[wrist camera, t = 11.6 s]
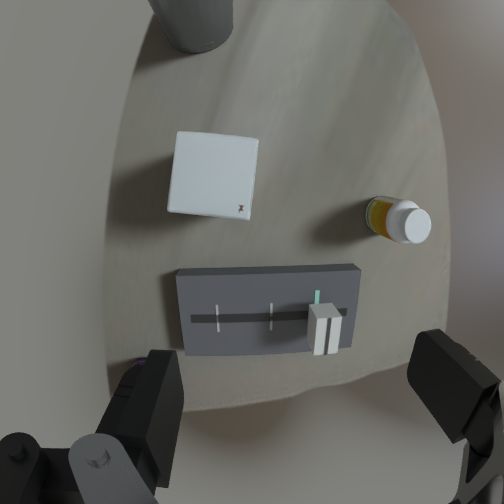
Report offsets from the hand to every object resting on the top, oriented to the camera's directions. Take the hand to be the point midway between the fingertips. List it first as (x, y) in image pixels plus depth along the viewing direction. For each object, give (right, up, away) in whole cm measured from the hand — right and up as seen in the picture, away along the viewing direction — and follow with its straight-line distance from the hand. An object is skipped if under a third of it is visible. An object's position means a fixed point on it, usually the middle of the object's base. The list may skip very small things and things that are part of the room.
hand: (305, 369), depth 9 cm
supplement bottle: (+16, +9, +30) cm, 35 cm away
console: (+1, -4, +32) cm, 32 cm away
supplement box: (-6, +13, +28) cm, 31 cm away
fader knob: (+7, -5, +29) cm, 30 cm away
